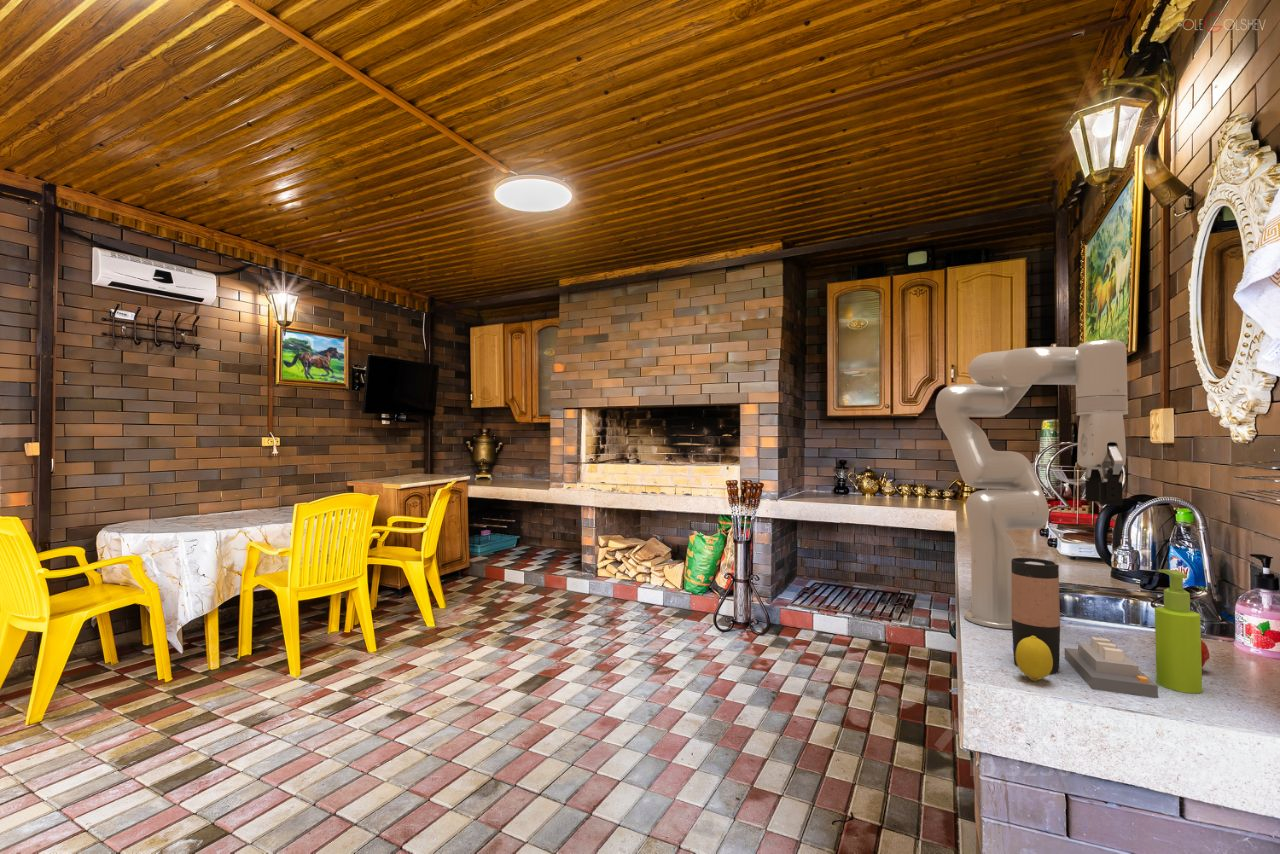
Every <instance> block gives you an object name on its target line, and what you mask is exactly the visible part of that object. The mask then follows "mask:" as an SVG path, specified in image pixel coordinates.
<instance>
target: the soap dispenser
mask: <svg viewBox="0 0 1280 854" xmlns="http://www.w3.org/2000/svg"><path fill="white" fill-rule="evenodd" d="M1157 572H1158V573H1163V574H1165V575H1168V576H1169V587H1167V588H1164V589H1163V606H1156V607H1154V625H1155V627H1154V630H1155V631H1154V633H1155V634H1154V635H1155V636H1154V638H1155V676H1156V677H1155V679H1156V681H1155V683H1157V684H1158V685H1159V686H1161V687H1164V688H1166V689H1169V690H1172V691H1175V692H1181V693H1184V694H1185V693H1187V694H1201V693H1202V692H1203V669H1202V668H1203V667H1202V663H1201V640H1202V635H1201V634H1202V631H1201V630H1202V629H1201V613H1199V612H1196V611H1193V610H1191V595H1190V592H1188V591H1186V590H1185V589H1184V579H1188V574H1186V573H1184V572H1182V571H1179V570H1177V569H1165V568H1164V569H1161V568H1160V569H1157Z"/></svg>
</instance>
